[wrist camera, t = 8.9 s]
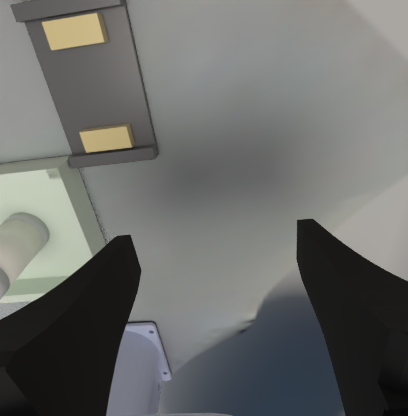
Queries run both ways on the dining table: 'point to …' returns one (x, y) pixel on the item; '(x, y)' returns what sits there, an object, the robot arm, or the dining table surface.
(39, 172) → the tray
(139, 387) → the robot arm
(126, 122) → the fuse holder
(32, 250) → the fuse
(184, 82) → the dining table surface
